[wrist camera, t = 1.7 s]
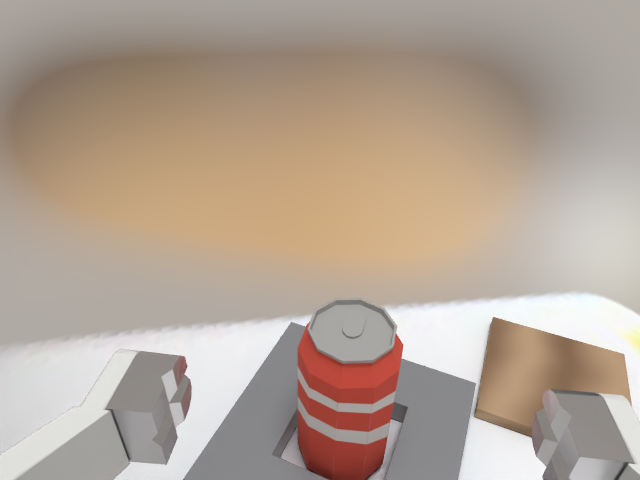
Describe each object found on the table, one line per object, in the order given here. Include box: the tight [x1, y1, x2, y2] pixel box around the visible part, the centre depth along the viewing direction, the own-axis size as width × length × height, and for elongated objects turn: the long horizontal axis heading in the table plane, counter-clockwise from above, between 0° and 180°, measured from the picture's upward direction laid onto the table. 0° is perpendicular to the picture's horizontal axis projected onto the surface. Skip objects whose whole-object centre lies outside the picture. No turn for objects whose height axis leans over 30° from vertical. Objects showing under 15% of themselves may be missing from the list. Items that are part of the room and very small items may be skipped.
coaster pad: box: [474, 317, 632, 437], centre depth 38 cm, size 11×11×1 cm
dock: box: [183, 322, 476, 480], centre depth 33 cm, size 16×16×2 cm
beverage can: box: [298, 298, 403, 480], centre depth 30 cm, size 6×6×12 cm
